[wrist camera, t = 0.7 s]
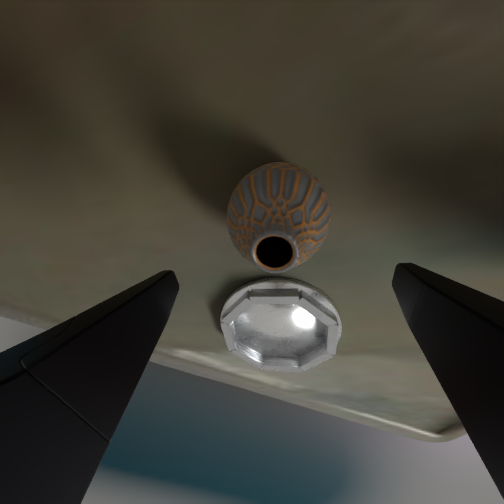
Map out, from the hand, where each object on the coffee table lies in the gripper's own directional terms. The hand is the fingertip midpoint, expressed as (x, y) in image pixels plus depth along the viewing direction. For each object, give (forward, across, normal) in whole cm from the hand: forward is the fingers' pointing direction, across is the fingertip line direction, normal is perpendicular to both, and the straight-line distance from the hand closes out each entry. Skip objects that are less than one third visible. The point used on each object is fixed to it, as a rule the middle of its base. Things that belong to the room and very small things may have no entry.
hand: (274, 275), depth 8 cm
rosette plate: (+10, +1, +15) cm, 18 cm away
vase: (+11, 0, 0) cm, 11 cm away
